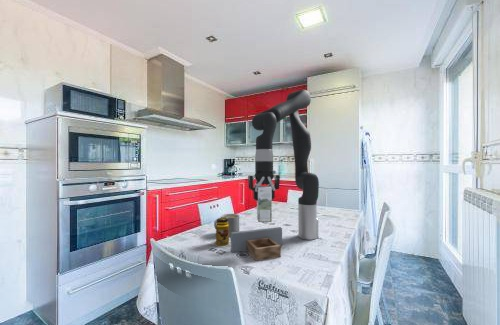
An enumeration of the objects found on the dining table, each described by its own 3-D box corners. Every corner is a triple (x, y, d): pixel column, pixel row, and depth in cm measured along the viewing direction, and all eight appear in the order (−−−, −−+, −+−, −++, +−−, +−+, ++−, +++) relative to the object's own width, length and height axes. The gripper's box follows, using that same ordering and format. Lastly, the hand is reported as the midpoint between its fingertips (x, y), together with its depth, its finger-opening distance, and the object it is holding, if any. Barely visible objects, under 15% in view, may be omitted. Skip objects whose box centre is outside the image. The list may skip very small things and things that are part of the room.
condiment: (223, 247, 102) (223, 221, 102) (209, 244, 106) (209, 219, 106) (232, 242, 108) (232, 217, 108) (218, 239, 112) (218, 215, 112)
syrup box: (270, 218, 98) (269, 185, 98) (272, 222, 92) (271, 186, 92) (256, 219, 97) (256, 185, 97) (258, 222, 92) (257, 187, 92)
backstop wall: (280, 244, 106) (280, 227, 106) (282, 245, 104) (282, 228, 104) (230, 250, 98) (230, 232, 98) (232, 252, 96) (232, 233, 96)
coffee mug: (241, 232, 125) (241, 214, 125) (236, 237, 115) (236, 218, 115) (218, 230, 128) (218, 213, 128) (211, 236, 118) (211, 217, 118)
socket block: (269, 247, 102) (269, 237, 102) (280, 256, 92) (280, 245, 92) (246, 250, 98) (246, 240, 98) (255, 260, 88) (255, 249, 88)
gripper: (251, 160, 89) (251, 202, 89) (283, 160, 94) (283, 200, 94) (245, 160, 96) (245, 199, 96) (275, 160, 101) (275, 197, 101)
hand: (264, 199), depth 95 cm, fingers closed on syrup box, 6 cm apart
